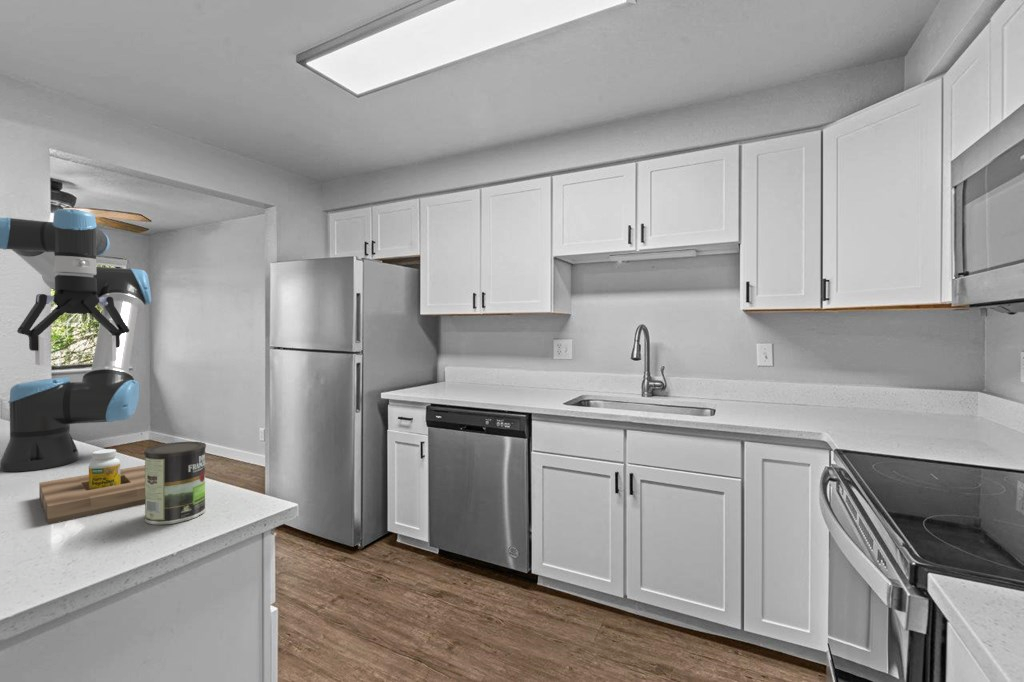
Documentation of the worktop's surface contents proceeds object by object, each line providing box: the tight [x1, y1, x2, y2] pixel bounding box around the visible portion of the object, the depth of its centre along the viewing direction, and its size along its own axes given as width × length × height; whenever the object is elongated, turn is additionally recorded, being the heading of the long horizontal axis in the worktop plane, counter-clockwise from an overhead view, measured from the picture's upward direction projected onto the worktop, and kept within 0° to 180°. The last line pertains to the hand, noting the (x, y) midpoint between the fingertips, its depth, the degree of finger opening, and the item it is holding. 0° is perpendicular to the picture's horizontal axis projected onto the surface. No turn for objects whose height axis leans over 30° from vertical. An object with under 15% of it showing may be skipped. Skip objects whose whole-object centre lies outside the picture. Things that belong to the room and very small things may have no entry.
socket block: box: [38, 464, 145, 525], centre depth 106 cm, size 20×20×4 cm
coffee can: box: [143, 441, 207, 526], centre depth 97 cm, size 10×10×14 cm
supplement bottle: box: [88, 448, 121, 490], centre depth 105 cm, size 5×5×10 cm
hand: (77, 362), depth 116 cm, fingers open, 13 cm apart
